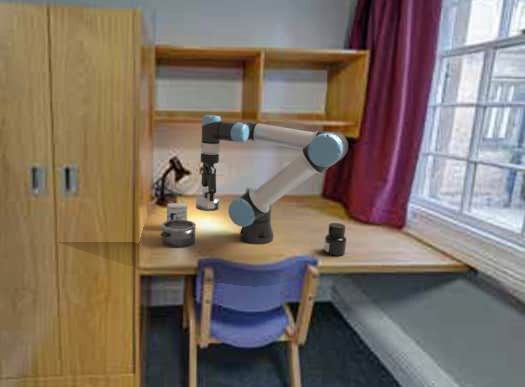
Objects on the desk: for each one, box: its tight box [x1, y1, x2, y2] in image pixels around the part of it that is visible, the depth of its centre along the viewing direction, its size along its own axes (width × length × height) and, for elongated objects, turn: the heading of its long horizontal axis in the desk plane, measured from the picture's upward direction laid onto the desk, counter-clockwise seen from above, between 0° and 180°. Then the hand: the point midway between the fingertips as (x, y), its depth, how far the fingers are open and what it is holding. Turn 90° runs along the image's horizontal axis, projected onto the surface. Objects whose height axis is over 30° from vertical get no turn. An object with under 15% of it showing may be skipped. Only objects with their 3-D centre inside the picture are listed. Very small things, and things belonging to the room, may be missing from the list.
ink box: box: [166, 202, 188, 221], centre depth 193 cm, size 9×5×12 cm, turn 114°
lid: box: [195, 192, 221, 212], centre depth 177 cm, size 10×10×6 cm
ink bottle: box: [323, 222, 347, 257], centre depth 174 cm, size 10×9×12 cm
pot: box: [160, 219, 197, 249], centre depth 176 cm, size 18×14×8 cm
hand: (207, 204), depth 178 cm, fingers closed on lid, 10 cm apart
